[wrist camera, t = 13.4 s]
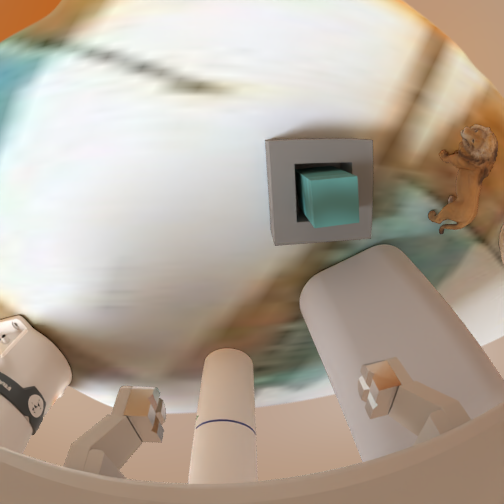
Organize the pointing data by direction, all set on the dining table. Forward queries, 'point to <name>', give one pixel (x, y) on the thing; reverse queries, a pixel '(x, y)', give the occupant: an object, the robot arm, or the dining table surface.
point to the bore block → (285, 190)
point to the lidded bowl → (501, 243)
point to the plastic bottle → (392, 341)
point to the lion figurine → (468, 175)
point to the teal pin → (327, 196)
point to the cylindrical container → (225, 421)
